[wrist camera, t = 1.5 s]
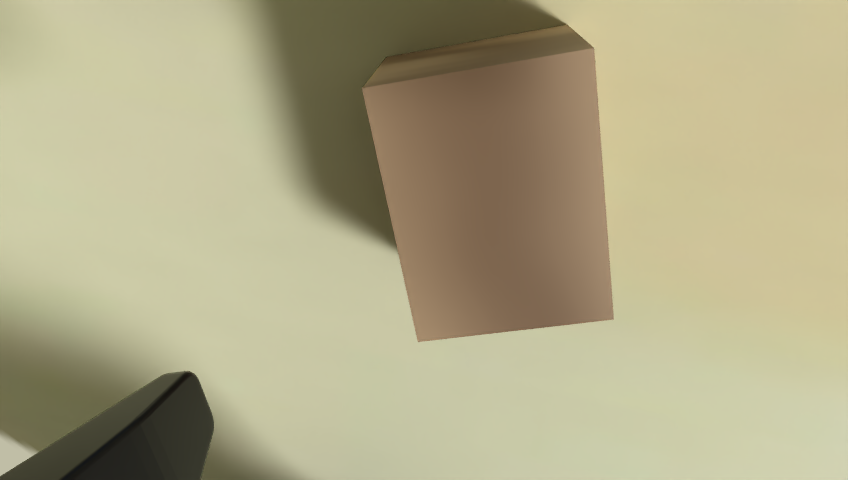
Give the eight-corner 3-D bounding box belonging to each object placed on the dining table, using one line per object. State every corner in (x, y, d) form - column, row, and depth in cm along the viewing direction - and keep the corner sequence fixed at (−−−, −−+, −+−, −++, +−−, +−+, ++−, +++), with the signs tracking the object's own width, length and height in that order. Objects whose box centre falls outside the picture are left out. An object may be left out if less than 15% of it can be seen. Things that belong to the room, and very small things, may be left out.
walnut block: (428, 264, 19) (418, 342, 15) (386, 56, 16) (362, 88, 13) (585, 243, 18) (614, 319, 14) (566, 23, 16) (594, 47, 12)
